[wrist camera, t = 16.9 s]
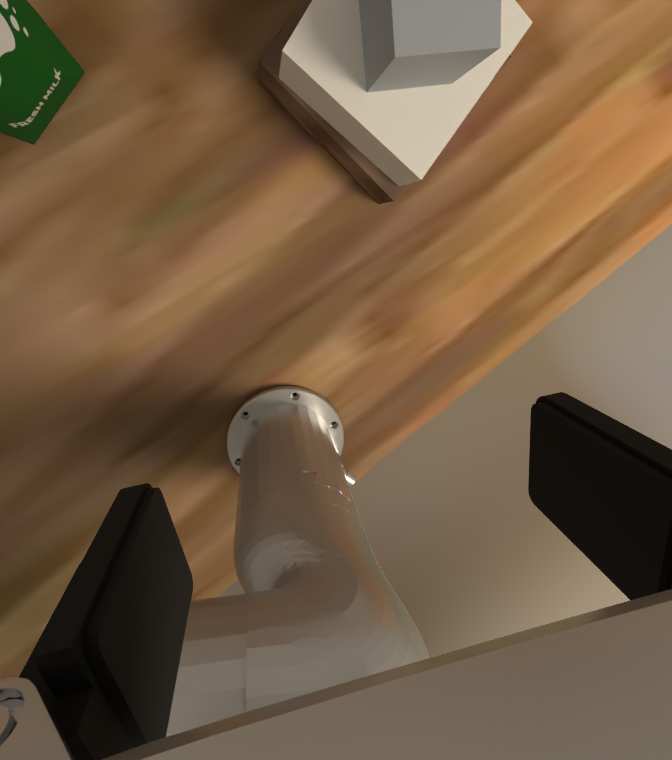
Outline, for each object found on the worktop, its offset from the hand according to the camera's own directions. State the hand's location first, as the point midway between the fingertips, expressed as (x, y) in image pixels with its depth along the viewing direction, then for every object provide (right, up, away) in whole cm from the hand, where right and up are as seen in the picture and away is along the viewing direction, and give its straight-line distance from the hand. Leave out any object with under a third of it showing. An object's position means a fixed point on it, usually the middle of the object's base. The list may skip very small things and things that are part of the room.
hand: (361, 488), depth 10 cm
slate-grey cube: (+4, +25, +16) cm, 30 cm away
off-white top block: (+3, +27, +21) cm, 34 cm away
